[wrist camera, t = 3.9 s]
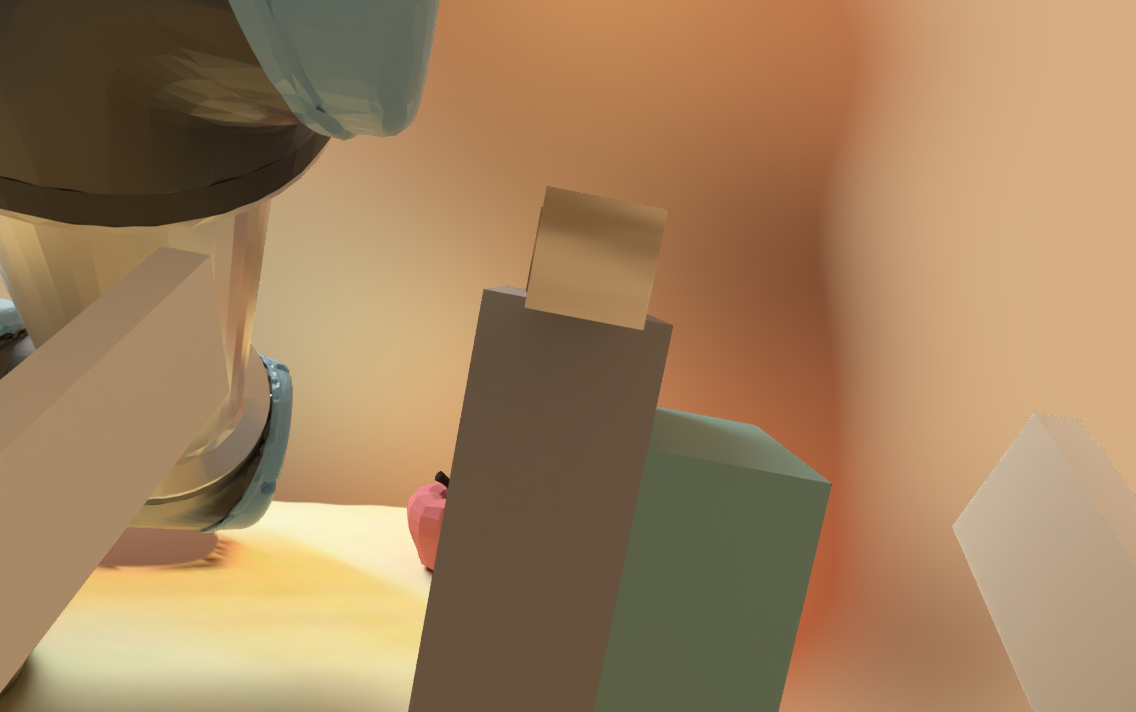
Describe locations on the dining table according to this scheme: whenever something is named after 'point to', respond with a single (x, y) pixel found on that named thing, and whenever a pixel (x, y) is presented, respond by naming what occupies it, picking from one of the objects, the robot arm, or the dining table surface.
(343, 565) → the dining table surface
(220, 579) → the dining table surface
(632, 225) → the wooden bar
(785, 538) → the stand
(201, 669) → the dining table surface
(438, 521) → the apple
